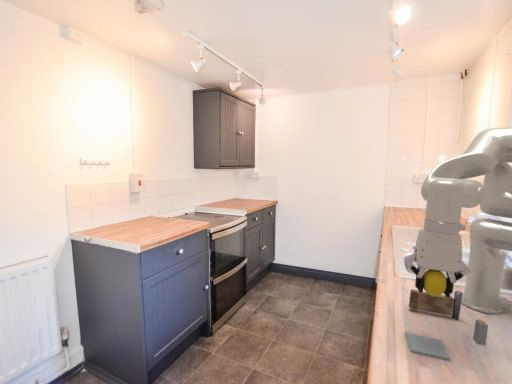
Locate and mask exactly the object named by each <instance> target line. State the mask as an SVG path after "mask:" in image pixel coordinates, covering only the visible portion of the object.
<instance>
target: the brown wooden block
mask: <svg viewBox="0 0 512 384" xmlns="http://www.w3.org/2000/svg"><path fill="white" fill-rule="evenodd" d="M453 301H454V297H452V296H451V295H450V298H449V297H446V295H445V294H441V295H439V296H434V297H431V296H430V294H428V293H427V292H426V291H423V293H419V291H418V289H417V290H416V289H410V293H409V302H408V303H409V304H408V307H409V309H410V310H414V311H415V310H416V311H420V312H421V311H422V312H428V313H433V314H439V315H444V316H448V317H451V316H452V309H453Z"/></svg>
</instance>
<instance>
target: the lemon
mask: <svg viewBox="0 0 512 384" xmlns="http://www.w3.org/2000/svg"><path fill="white" fill-rule="evenodd" d="M423 278H424V286H423V291H424V292H427V293H428V294H430V296H431V297H434V296H439V295H444V292H445V290H446V286H447V281H446V278H447V276H446V274H444V273H443V271H438V270H431V269H426V271H425V273H424V275H423Z"/></svg>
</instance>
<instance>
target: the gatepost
mask: <svg viewBox="0 0 512 384" xmlns="http://www.w3.org/2000/svg"><path fill="white" fill-rule="evenodd" d="M462 294H463V293H462V292H461V291H458V290H455V291H454V296H453V299H454V301H453V307H452V315H451V316H450V318H451V319H452V320H454V321H459V320H460V313H461V307H462V303H461V300H462Z"/></svg>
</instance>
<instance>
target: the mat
mask: <svg viewBox="0 0 512 384" xmlns="http://www.w3.org/2000/svg"><path fill="white" fill-rule="evenodd" d="M404 336H405V338H406V342H407V345H408V348H409V351H410V353H413V354H417V355H418V354H419V355H424V356H427V357H432V358H436V359H440V360H444V361H449V362H450V361H451V357H450V355H449V353H448V351H447V349H446V347H445V346H444V343H443V342H442V340H441V339H439V338H434V337H431V336H430V337H429V336H426V335H420V334H416V333H410V332H406V331H405V332H404Z"/></svg>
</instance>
